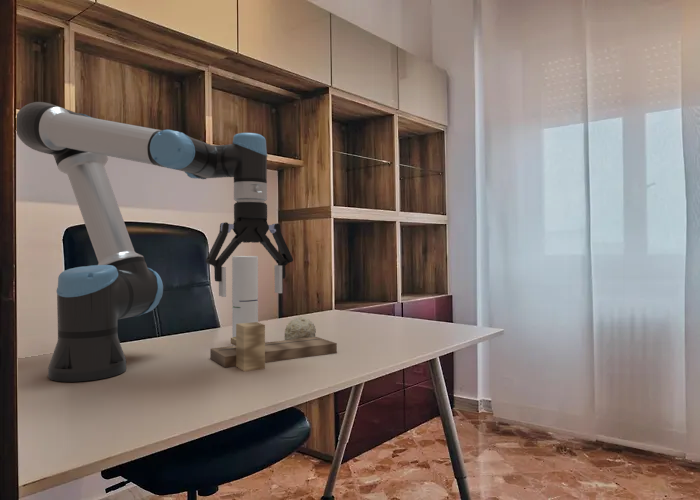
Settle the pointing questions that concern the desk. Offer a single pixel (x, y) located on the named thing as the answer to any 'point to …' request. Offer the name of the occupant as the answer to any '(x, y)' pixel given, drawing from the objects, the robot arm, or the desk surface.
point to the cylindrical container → (244, 290)
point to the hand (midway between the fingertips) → (251, 294)
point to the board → (278, 350)
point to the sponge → (299, 329)
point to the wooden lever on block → (250, 346)
